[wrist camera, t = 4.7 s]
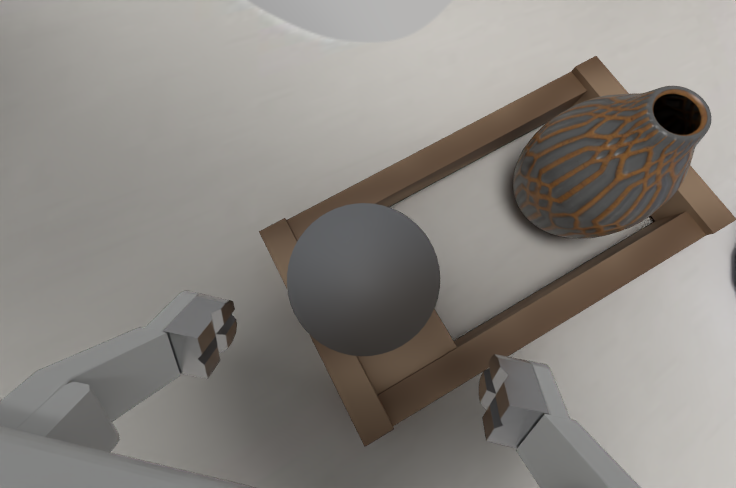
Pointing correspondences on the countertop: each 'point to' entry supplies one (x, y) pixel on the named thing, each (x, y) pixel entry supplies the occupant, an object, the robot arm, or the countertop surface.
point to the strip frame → (422, 276)
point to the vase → (609, 161)
